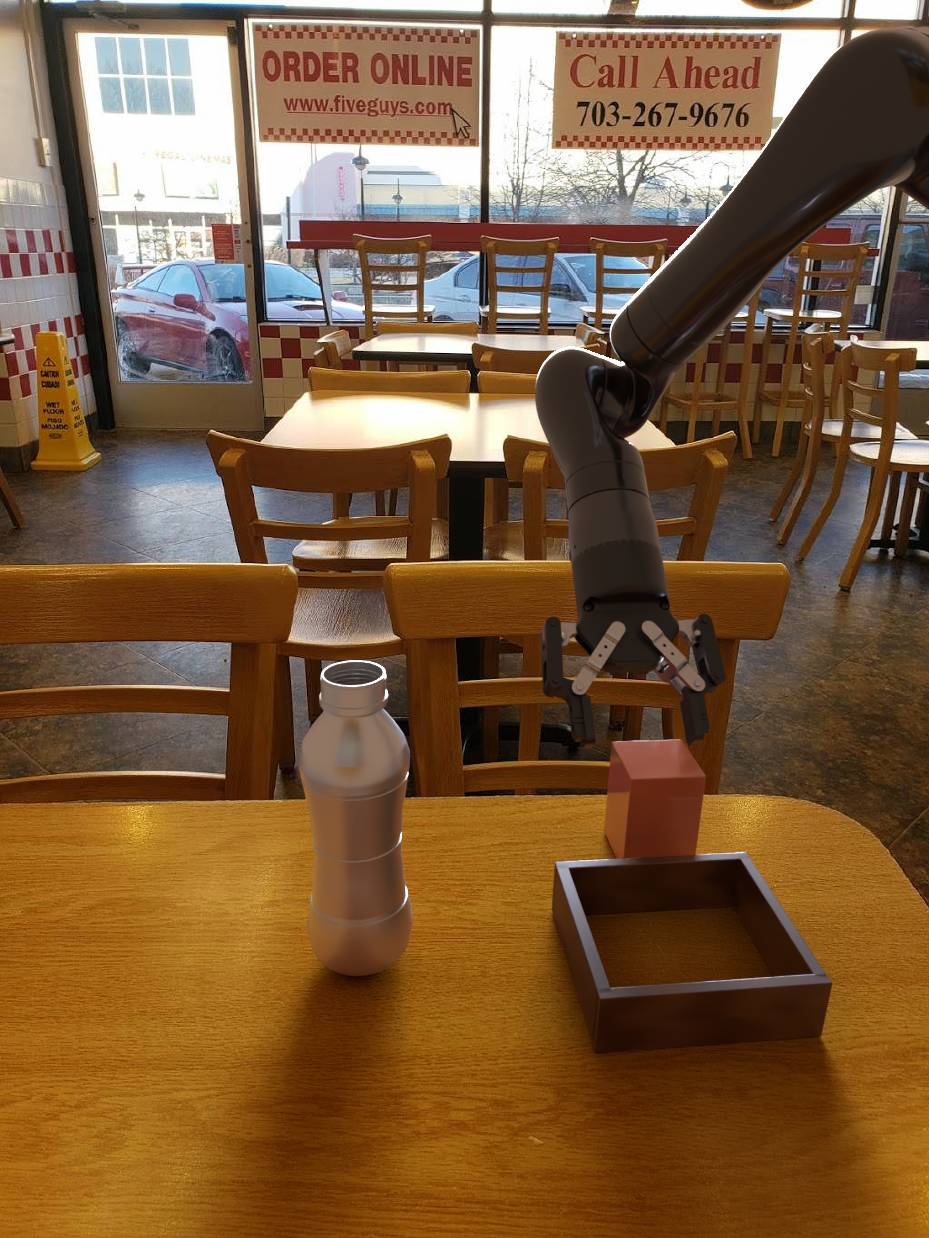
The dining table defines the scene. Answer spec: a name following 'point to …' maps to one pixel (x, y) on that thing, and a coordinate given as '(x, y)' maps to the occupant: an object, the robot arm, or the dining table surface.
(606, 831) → the red rectangular block
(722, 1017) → the dark brown wooden tray
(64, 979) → the dining table surface
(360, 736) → the plastic bottle
